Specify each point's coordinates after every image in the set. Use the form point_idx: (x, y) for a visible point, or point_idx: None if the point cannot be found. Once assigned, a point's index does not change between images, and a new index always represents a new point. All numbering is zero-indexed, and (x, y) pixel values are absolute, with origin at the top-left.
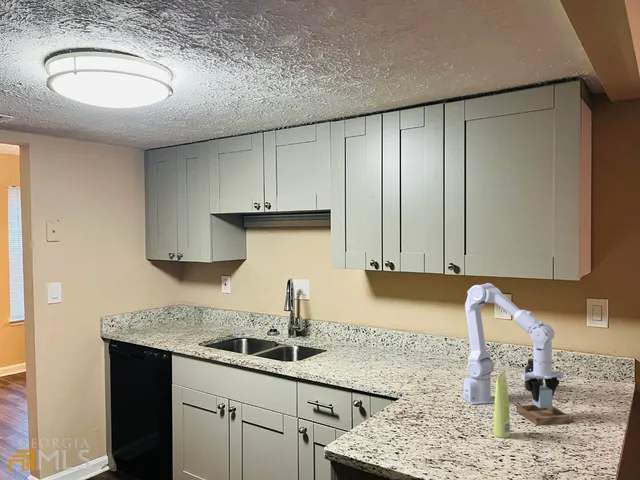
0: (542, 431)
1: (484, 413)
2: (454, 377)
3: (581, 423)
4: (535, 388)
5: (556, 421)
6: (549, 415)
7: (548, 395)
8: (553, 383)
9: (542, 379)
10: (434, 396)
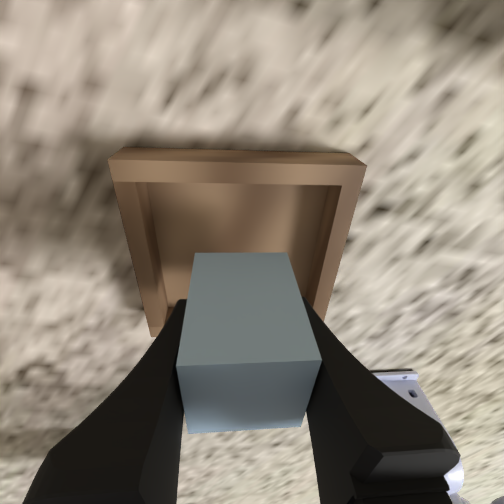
0: (393, 48)
1: (446, 310)
2: (297, 486)
3: (42, 123)
4: (379, 383)
5: (217, 154)
6: (198, 247)
7: (223, 318)
8: (149, 448)
9: None
10: (456, 416)
